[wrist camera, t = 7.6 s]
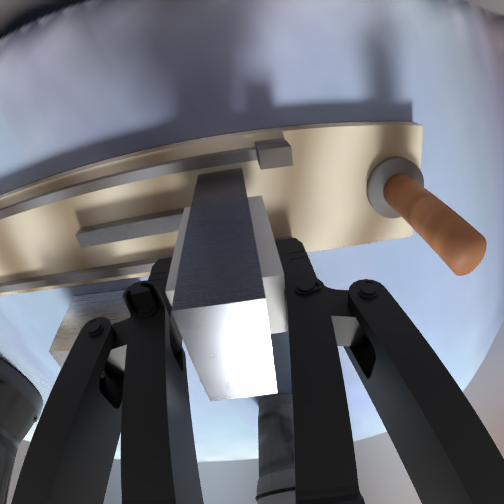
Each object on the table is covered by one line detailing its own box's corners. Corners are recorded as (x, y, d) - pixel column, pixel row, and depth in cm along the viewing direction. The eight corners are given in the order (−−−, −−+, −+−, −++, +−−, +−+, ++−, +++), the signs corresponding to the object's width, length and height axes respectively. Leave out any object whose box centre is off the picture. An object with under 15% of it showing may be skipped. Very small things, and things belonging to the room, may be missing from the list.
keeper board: (4, 287, 21) (-42, 363, 13) (-34, 209, 17) (-100, 275, 9) (404, 228, 21) (474, 310, 13) (412, 121, 17) (515, 170, 9)
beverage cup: (235, 398, 31) (250, 573, 14) (298, 379, 30) (336, 562, 13) (260, 421, 35) (279, 567, 18) (316, 405, 34) (349, 555, 17)
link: (105, 347, 26) (90, 401, 21) (74, 295, 22) (48, 351, 17) (168, 343, 26) (161, 401, 21) (143, 287, 22) (126, 349, 17)
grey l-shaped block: (94, 264, 19) (36, 397, 10) (70, 202, 16) (-25, 325, 8) (252, 240, 19) (277, 393, 10) (241, 167, 16) (265, 298, 8)
